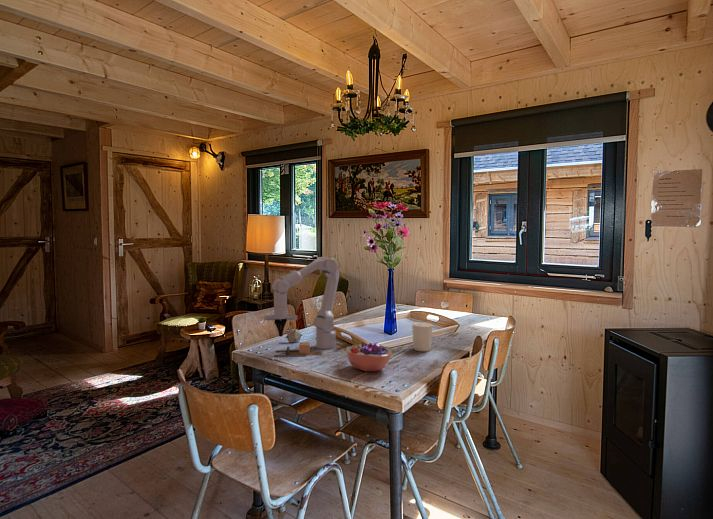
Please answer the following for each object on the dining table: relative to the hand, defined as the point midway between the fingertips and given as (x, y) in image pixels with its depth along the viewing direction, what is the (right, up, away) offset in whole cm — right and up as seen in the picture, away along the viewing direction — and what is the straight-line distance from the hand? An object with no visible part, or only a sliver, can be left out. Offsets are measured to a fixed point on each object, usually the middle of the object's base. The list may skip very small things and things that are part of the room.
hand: (280, 336), depth 194 cm
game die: (+3, -8, +22) cm, 24 cm away
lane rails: (+4, -9, +1) cm, 10 cm away
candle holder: (+66, -9, +13) cm, 67 cm away
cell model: (+39, -11, -17) cm, 44 cm away
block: (+10, -8, +1) cm, 13 cm away
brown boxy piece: (+10, -9, +1) cm, 14 cm away
